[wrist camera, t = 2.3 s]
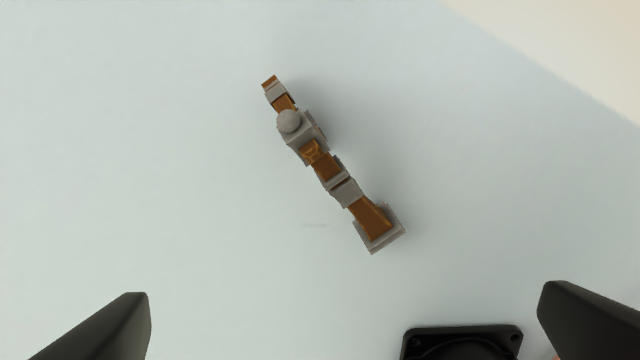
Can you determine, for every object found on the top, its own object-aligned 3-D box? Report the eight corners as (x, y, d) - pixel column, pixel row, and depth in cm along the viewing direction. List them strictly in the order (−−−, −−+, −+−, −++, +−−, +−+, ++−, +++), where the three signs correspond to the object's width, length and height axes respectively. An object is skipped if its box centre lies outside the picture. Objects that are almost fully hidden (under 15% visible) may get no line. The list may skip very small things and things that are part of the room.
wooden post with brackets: (274, 45, 14) (317, 109, 11) (363, 169, 19) (409, 235, 16) (233, 76, 14) (264, 148, 11) (333, 190, 20) (373, 259, 16)
